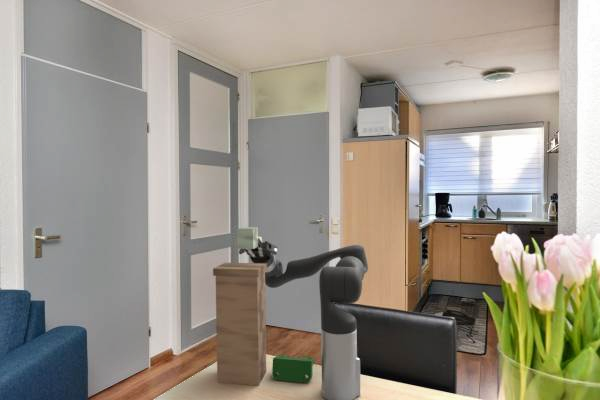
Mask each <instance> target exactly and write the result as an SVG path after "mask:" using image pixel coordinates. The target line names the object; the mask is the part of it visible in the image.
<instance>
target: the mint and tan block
mask: <svg viewBox="0 0 600 400" xmlns="http://www.w3.org/2000/svg"><path fill="white" fill-rule="evenodd" d="M258 229H259V227H257V226H256V227H255V226H253V227H252V226H251V227H250V226H249V227H248V226H247V227H246V226H243V227H242V226H241V227H239V228H236V248H237V250H239V249H254V248H256V247H258V238H259V239H260V240H261V241H263V236H259V230H258Z"/></svg>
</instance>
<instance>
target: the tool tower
mask: <svg viewBox="0 0 600 400" xmlns="http://www.w3.org/2000/svg"><path fill="white" fill-rule="evenodd" d="M265 271H267V263H253V262H251V263H250V262H223V263H222V264H219V265H217V266H216V267H214V268H212V277H213V276H214V277H215V312H216V313H215V314H216V317H215V318H216V321H215V323H216V324H215V325H216V327H215V328H216V375H217V377H216V379H217V383H220V384H222V383H223V384H224V383H225V384H234V385H235V384H237V385H249V386H260V384H261V382H262V380H263V379H264V377H265V375H266V373H267V331H266V330H267V329H266V321H267V320H266V317H267V316H266V284H265Z"/></svg>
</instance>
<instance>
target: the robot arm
mask: <svg viewBox="0 0 600 400" xmlns="http://www.w3.org/2000/svg"><path fill="white" fill-rule="evenodd" d="M245 253H246V255H247V256H249V258H250V261H251V263H267V271H265V286H266V287H268V288H270V289H271V288H272V289H273V288H274V289H275V288H279V287H281V286H283V285H286V284H287V283H291V282H292V281H294V280H299V279H305V278H309V277H312V276H314V275H316V274H317V273H319V281H318V283H319V286H318V287H319V300H320V301H319V302H320V334H321V335H320V338H321V339H320V340H321V341H320V342H321V350H320V351H321V353H320V355H321V395H322V397H323V398H324V399H326V400H355V399H356V398H357V397H360V396H361V359H360V358H359V357H358V346H357V345H358V343H357V340H358V339H357V338H358V337H357V334H358V333H357V331H358V330H357V327H358V326H357V325H358V323H357V319H356V317H355V316H354V315H353V314H352V313H350V312H347V311H344V310H342V309H340V308H339V307H338V306H337V305H335V303H336V304H354V303H357V302H358V301H359V300H360V298H361V296H362V295H361V294H362V291H363V279H364V277H365V274H367V272H368V270H369V265H368V260H367V256H366V250H365V247H364V245H361V244H351V245H347V246H343V247H340V248H337V249H333V250H330V251H325V252H324V253H320V254H317V255H313V256H311V257H305V258H300V259H296V260H294V259H293V260H290V261H288V262H287V264H286V268H285V270H284V268H283V263H282V261H281V260H279V259H276V256H275V255H277V254H278V246H277V245H274V244H273V243H272V242H269V241H263V240H262V241H261V240H260V239H259V238H258V247H256V248H254V249H238V255H242V254H245ZM337 258H340V259H339V260H338V261H337V263H336V264H335V266H326V265H327V264H328V263H330V262H331V261H333V260H335V259H337ZM284 271H285V272H284ZM319 271H320V272H319Z"/></svg>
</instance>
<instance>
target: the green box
mask: <svg viewBox="0 0 600 400" xmlns="http://www.w3.org/2000/svg"><path fill="white" fill-rule="evenodd" d="M314 365H315V357H309V356H308V357H307V356H304V357H297V358H296V357H291V356H290V355H285V354H277V355H276V356H274V357H273V358H272V367H271V368H272V369H271V370H272V371H271V376H272V378H273V379H274V380H275V381H276V380H277V381H285V382H287V381H288V382H295V383H296V382H297V383H306V384H307V383H309V382H310V381H311V380H312V379H313V366H314Z"/></svg>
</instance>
